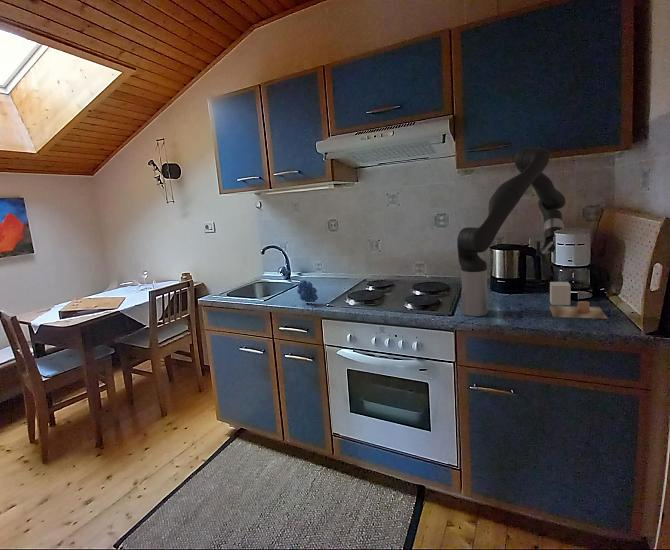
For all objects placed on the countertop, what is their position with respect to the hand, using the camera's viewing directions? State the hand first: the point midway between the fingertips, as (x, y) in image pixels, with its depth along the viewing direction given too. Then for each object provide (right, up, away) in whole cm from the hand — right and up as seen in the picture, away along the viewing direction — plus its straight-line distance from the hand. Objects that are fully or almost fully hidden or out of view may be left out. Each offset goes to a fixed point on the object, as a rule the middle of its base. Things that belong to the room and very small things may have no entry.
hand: (556, 262), depth 157 cm
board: (-4, -19, -19) cm, 27 cm away
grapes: (-104, -20, +30) cm, 110 cm away
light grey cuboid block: (-3, -17, -7) cm, 18 cm away
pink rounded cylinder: (-2, -18, -20) cm, 27 cm away
